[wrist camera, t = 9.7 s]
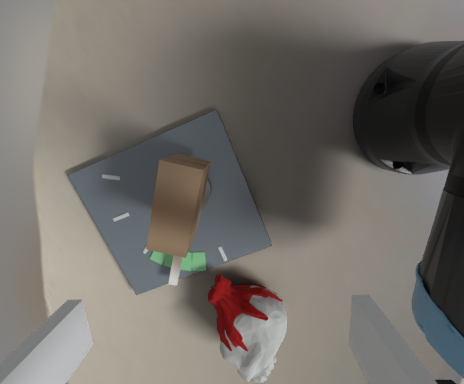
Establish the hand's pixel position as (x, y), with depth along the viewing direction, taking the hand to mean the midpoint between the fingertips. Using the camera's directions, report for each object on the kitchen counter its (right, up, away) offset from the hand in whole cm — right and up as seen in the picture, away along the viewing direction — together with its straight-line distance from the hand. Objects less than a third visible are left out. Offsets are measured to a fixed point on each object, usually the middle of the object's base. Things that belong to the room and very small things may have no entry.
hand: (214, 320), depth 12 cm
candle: (+3, -11, +26) cm, 29 cm away
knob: (-6, +2, +22) cm, 23 cm away
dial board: (-7, +4, +23) cm, 24 cm away
